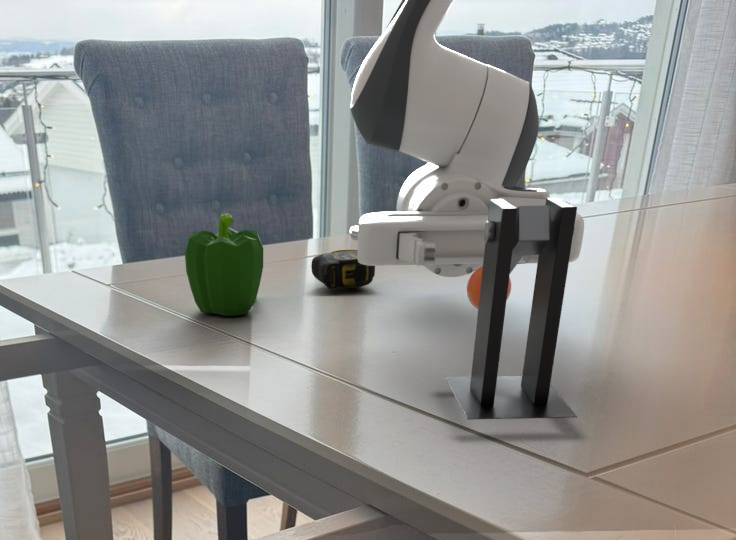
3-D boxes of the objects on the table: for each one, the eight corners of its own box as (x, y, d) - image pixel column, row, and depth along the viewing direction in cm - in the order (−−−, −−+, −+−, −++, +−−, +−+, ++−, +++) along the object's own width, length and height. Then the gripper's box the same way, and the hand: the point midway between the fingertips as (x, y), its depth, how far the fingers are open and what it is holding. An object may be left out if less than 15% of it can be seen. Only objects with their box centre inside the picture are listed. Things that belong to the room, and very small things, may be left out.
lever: (462, 317, 79) (462, 274, 79) (505, 316, 79) (505, 273, 79) (508, 250, 64) (508, 196, 64) (560, 249, 64) (560, 195, 64)
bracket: (443, 391, 77) (461, 194, 69) (541, 389, 76) (570, 191, 68) (465, 434, 68) (489, 215, 60) (575, 433, 68) (613, 212, 60)
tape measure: (309, 283, 111) (310, 250, 109) (365, 279, 112) (366, 246, 110) (323, 296, 106) (323, 261, 104) (381, 292, 107) (382, 257, 105)
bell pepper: (194, 302, 104) (189, 205, 99) (267, 303, 103) (266, 204, 98) (181, 321, 97) (174, 218, 92) (259, 322, 96) (257, 217, 91)
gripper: (348, 192, 89) (361, 216, 77) (563, 188, 89) (608, 211, 77) (346, 262, 92) (358, 295, 81) (552, 258, 92) (594, 290, 81)
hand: (482, 254), depth 79 cm, fingers open, 8 cm apart
